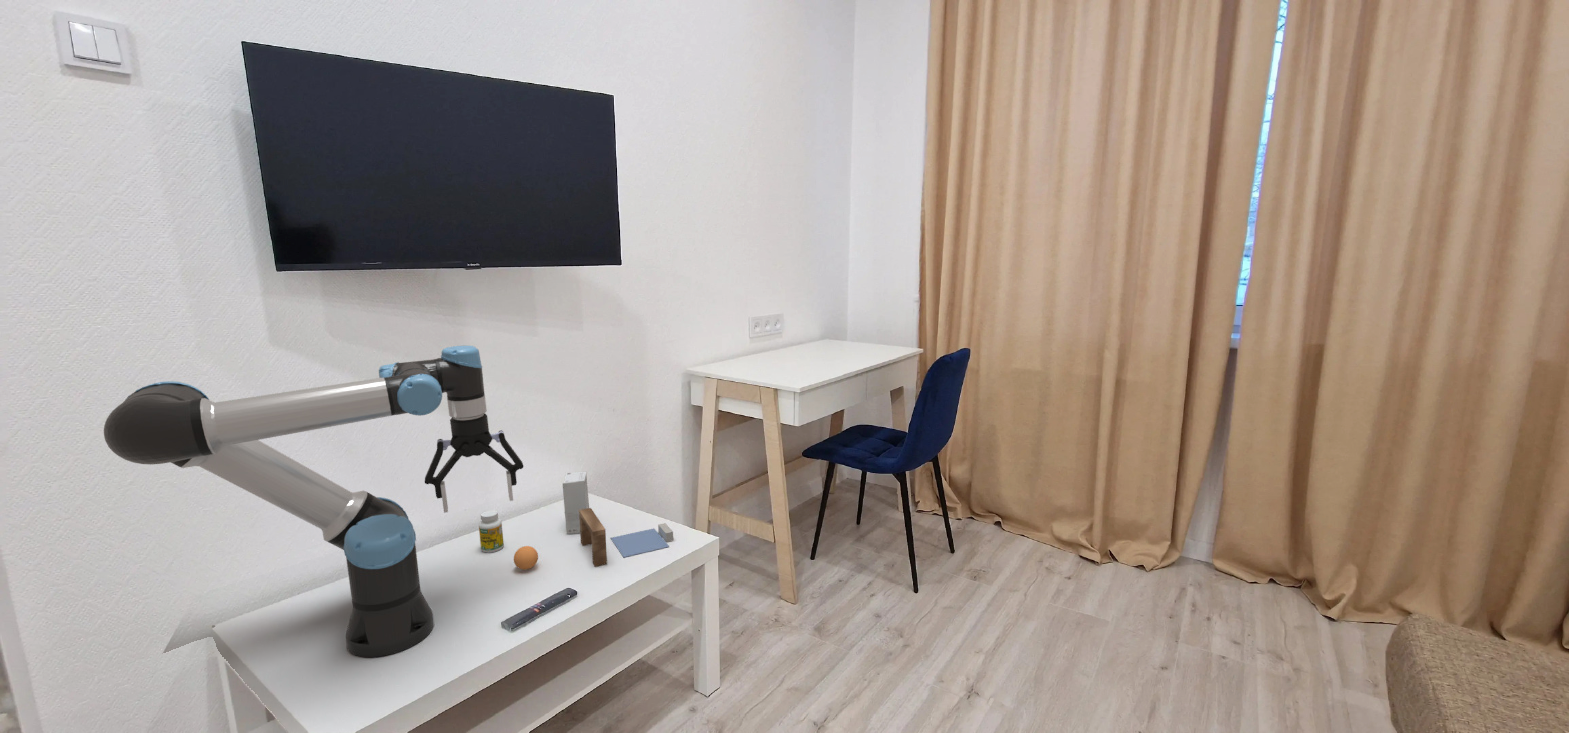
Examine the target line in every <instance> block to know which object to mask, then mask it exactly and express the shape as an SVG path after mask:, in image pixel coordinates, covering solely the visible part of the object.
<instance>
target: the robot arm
mask: <svg viewBox="0 0 1569 733" xmlns="http://www.w3.org/2000/svg"><path fill="white" fill-rule="evenodd" d="M378 376H379V377H377V378H371V379H364V380H358V381H351V382H344V383H336V384H330V385H323V386H318V387H316V386H315V387H311V388H305V389H298V390H297V389H296V390H291V391H285V392H284V391H283V392H277V393H276V392H275V393H271V394H264V395H258V396H250V397H245V398H244V397H243V398H242V397H241V398H237V399H231V400H223V401H218V402H217V401H216V402H215V401H212V400H210V399H209V397H208V396H207V395H206V394H205V393H204V392H203V391H202V390H201V389H199V388H198V387H196V386H194V385H192V384H189V383H185V382H181V381H175V380H174V381H173V380H172V381H171V380H169V381H167V380H166V381H159V382H154V383H152V384H151V383H150V384H148V385H146V386H142V387H140V388H138V389H136V390H135V391H134V392H132V393H131V394H129V395H128V396H127V397H126V398H125V400H124V401H122V403H120V404H118V405H117V407H114V409H113V410H112V411H111V413H109V415H108V416H107V418H106V420H105V422H104V427H103V438H104V441H105V442H106V443H105V444H106V445H107V447H108V448H109V449H110V451H112V452H113V453H114V454H115V455H116V456H118V457H119V458H120V459H121V458H122V459H123V460H125V461H127V462H131V463H135V464H140V465H162V464H168V463H171V464H172V465H175V466H177V467H179V468H181V469H185V468H191V467H192V468H193V467H200V468H201V469H204V470H206V471H208V472H209V473H212V474H213V475H215V476H217V477H219V478H221V479H223V480H225V481H227V482H229V483H231V484H233V485H234V486H236V487H238V488H240V489H242V490H245V491H246V492H248V493H250V494H252V495H254V496H256V497H258V498H261V499H262V500H263V501H266V502H267V503H269V504H271V505H274V506H275V507H277V508H279V509H281V510H283V511H285V512H287V513H289V514H291V515H294V516H295V517H297V518H299V519H301V520H303V521H305V522H307V523H309V524H310V525H312V526H314V527H316V528H318V529H320V530H321V531H322V537H323V540H324V541H325V542H327V543H329V544H331V545H333V546H335V547H336V548H339V549H341V550H343V553H344V556H345V558H346V567H347V574H348V580H349V582H348V583H349V589H350V596H351V603H352V610H351V613H350V618H349V621H348V624H347V628H346V633H345V643H346V649H347V650H348V652H349V653H350V654H352V655H354V656H358V657H362V658H363V657H364V658H375V657H376V658H377V657H384V656H388V655H393V654H396V653H399V652H401V651H405V650H407V649H410V648H411V647H413V646H414V645H417V644H418V643H420V642H422V641H423V640H424V639H425V638H427V636H428V635H430V633H432V630H433V629H434V626H435V621H434V613H433V610H432V609H431V607H430V605H429V602H428V601H427V600H426V598H425V596H424V594H423V593H422V591H421V584H420V574H419V573H420V572H419V564H418V558H417V557H418V555H417V549H416V548H417V547H416V541H417V537H416V536H417V535H416V531H415V528H414V525H413V523H412V521H411V520H410V518H409V516H408V514H407V512H406V510H404V508H403V507H402V506H401V505H400V504H399V503H397V502H396V501H395V500H392V499H389V498H388V497H387V498H386V497H378V496H375V495H373V494H371V493H370V492H368V491H366V490H360V491H356V492H351V491H350V490H348V489H346V488H345V487H343V486H341V485H340V484H337V483H335V482H333V481H332V480H330V479H328V478H327V477H325V476H323V475H321V474H320V473H318V472H316V471H315V470H312V469H310V468H309V467H307V466H306V465H304V464H302V463H300V462H298V461H297V460H295V459H293V458H291V457H289V456H287V455H286V454H284V453H282V452H281V451H278V450H277V449H275V448H274V447H272V446H269V445H268V444H266V443H265V442H262V441H261V440H264V439H265V440H266V439H271V438H276V437H282V436H286V435H292V434H297V433H303V432H308V431H309V432H310V431H314V430H320V429H321V430H322V429H324V428H331V427H337V426H342V425H343V426H344V425H348V424H353V423H360V422H365V421H369V420H375V419H379V418H381V419H382V418H385V417H386V418H387V417H391V416H401V415H404V414H410V415H413V416H417V417H419V416H420V417H421V416H425V415H428V414H431V413H433V412H434V411H436V410H437V409H438V407H440V405H441V402H442V400H443V393H445V394H446V399H447V407H448V408H447V409H448V414H449V415H448V416H450V419H449V421H450V422H449V424H450V430H451V439H445V440H444V439H442V438H438V439H437V441H436V451H435V453H434V455H433V457H432V460H431V462H430V464H429V466H428V467H429V468H428V469H427V472H426V474H425V476H424V484H425V485H429V484H430V485H433V486H434V489H435V490H434V491H435V497H436V499H437V500H438V499H441V500H442V506H443V507H442V509H443V513H444V514H445V513H448V512H449V506H448V505H449V504H448V499H447V498H448V497H447V490H446V482H445V478H446V477H447V475H448V474H449V473H450V471H451V470H452V469H453V467H454V466H455V465H456V463H457V462H458V461H459V460H460V459H461V458H462V457H465V458H470V457H473V456H481V455H482V454H485V455H487V456H488V457H490V458H492V459H493V460H494V461H495V462H496V463H498V464H499V465H500V466H502V467H503V468H504V469H506V470H505V472H506V473H505V474H506V481H507V482H506V484H507V491H508V492H507V493H508V498H509V499H508V500H509V502H513V501H514V495H513V494H514V493H513V486H516V485H517V483H518V482H517V472H518V471H519V470H522V469H523V468H524V464H523V460H521V458H520V456H518V454H517V452H516V451H515V450H514V449H513V448H512V446H511V444H510V443H509V442H508V440H507V439H506V436H505V433H504V430H502V429H501V430H499V431H498V432H495V433H490V430H489V429H490V428H489V420H488V414H486V412H487V402H486V395H485V385H484V377H483V366H482V361H481V354H480V350H479V349H478V348H477V347H476V346H474V345H455V346H448V347H445V348H443V349H442V350H441V355H440V357H438V358H433V359H426V360H424V359H423V360H416V361H415V360H414V361H407V362H406V361H404V362H399V361H398V362H395V363H390V364H384V365H381V366H380V367H379V369H378ZM493 440H494V441H495V442H496V443H499V444H500V446H501V447H502V448H503V449H504V451H505V452H506V454H507V455H508V456H509V457H510V459H511V461H513V463H511V462H510V461H509V460H507V458H506V457H504V456H502V455H501V454H500V453H499V452H497V451H496V450H495V449H494V447H492V446H491V443H492V441H493ZM449 446H450V447H451V448H453V449H454V450H453V451H454V452H453V453H452V455H451V456H450V458H449V459H448V460H447V462H446V463H445V464H444V465H443V466H442V468H441V469H440V471H438V474H436V476H434V475H435V473H436V471H437V469H438V466H439V464H440V461H441V459H442V457H443V454H444V451H447V450H448V447H449Z"/></svg>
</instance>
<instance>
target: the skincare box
mask: <svg viewBox="0 0 1569 733" xmlns="http://www.w3.org/2000/svg"><path fill="white" fill-rule="evenodd" d="M587 475H588V474H587V471H578V472H577V471H575V472H566V473H565V476H564V477H563V481H562V493H563V506H564V516H565V518H564V519H565V532H566V535H570V534H580V519H579V510H581V509H587V508H590V502H589V489H588V476H587Z"/></svg>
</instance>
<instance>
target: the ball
mask: <svg viewBox="0 0 1569 733" xmlns="http://www.w3.org/2000/svg"><path fill="white" fill-rule="evenodd" d="M538 561H539V554H538V551H537V550H536V549H535V547H533V546H530V545H524V546H521V547H519V548H518V549H517V550H516V551H515V553H514V555H513V563H514V566H515V567H516V568H518V569H519V570H523V571H524V570H525V571H527V570H530V569H532V568H534V566H535V565H536V564H537V563H538Z"/></svg>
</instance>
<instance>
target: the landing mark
mask: <svg viewBox="0 0 1569 733" xmlns="http://www.w3.org/2000/svg"><path fill="white" fill-rule="evenodd" d="M610 540H611V542H612V543H613V545H614V546H615V547H616V549H617V550H618V552H619V553H620V554H621V556H622V557H623V558H624V559H625V558H629V557H632V556H637V555H641V554H646V553H650V552H654V551H658V550H663V549H667V548H670V545H669V544H668V542H666V541H665V540H664V539H663V538H662V537H661V536H660V534H659V533H658V531H657V530H656V529H655V528H654V527H653V528H649V529H646V530H645V529H644V530H639V531H636V532H632V533H631V532H630V533H626V534H622V535H617V536H613V537H610Z"/></svg>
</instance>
